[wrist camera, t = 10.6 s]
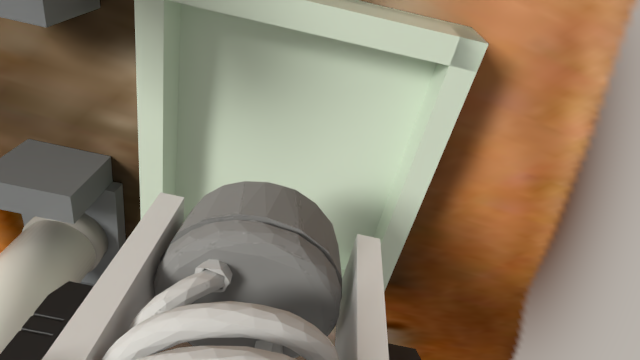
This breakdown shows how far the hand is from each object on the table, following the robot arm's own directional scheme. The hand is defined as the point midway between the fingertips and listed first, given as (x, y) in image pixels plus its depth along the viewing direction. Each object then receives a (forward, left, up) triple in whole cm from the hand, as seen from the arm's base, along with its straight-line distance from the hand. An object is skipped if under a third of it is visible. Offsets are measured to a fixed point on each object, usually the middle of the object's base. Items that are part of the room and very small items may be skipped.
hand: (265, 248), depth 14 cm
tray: (0, 0, -7) cm, 7 cm away
